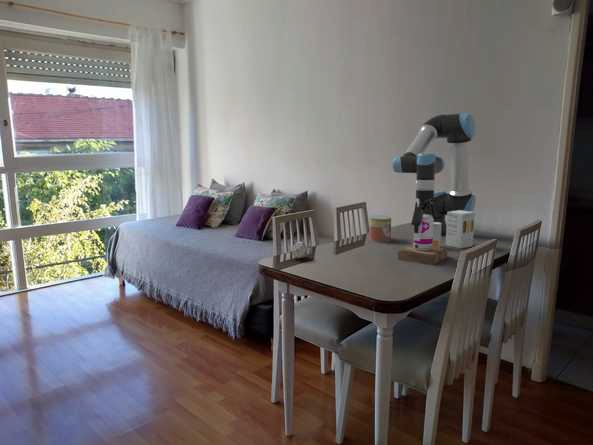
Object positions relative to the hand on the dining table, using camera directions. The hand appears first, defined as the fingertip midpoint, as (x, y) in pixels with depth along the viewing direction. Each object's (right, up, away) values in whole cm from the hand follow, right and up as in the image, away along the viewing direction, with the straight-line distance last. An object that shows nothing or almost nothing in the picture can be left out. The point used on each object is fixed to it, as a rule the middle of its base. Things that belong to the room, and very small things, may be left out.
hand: (423, 237), depth 198 cm
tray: (0, -9, +2) cm, 9 cm away
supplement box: (+24, -5, +23) cm, 34 cm away
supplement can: (0, -5, +1) cm, 5 cm away
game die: (-54, -10, +4) cm, 55 cm away
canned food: (-12, -3, +39) cm, 41 cm away
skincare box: (+11, -5, +21) cm, 24 cm away
